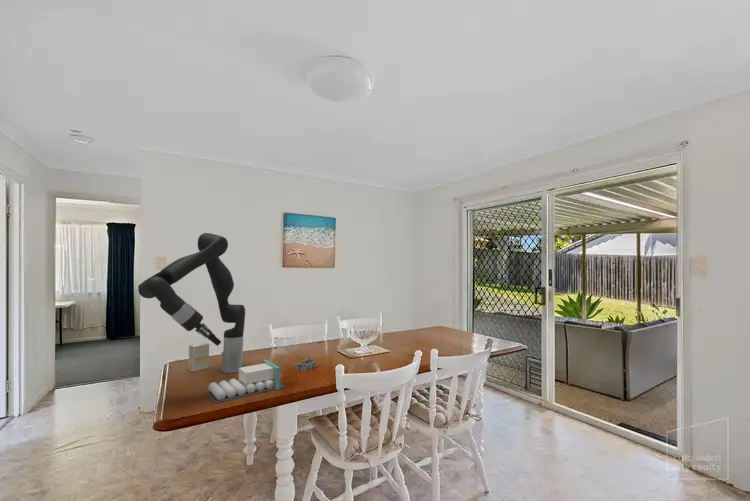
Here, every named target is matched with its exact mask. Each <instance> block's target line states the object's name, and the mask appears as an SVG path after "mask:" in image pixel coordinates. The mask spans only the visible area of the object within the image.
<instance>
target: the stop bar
mask: <svg viewBox="0 0 750 501" xmlns="http://www.w3.org/2000/svg"><path fill="white" fill-rule="evenodd" d="M264 363H266V364H268V365H269V366H271V367H273V376H274V380H275V390H274V391H278V390H280V389H279V383H280V380H281V379H280V374H281V371H280V370H281V368H280V367H279V366H278V365H277V364H275V363H273V362H271V361H270V360H267V359H263V360H262V364H264Z"/></svg>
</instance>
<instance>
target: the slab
mask: <svg viewBox="0 0 750 501" xmlns="http://www.w3.org/2000/svg"><path fill="white" fill-rule="evenodd" d="M239 379H240V380H241V381H243V382H244V383H245V384H248V383H253V382H258V381H263V380H268V379H274V374H273V367H271V366H269V365H268V364H266V363H264V364H263V363H259V364H253V365H248V366H242V367H241V368H239V372H238V380H239Z"/></svg>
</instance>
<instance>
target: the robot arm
mask: <svg viewBox="0 0 750 501" xmlns="http://www.w3.org/2000/svg"><path fill="white" fill-rule="evenodd" d="M228 246H229V242H228V239H227V238H225V237H224V236H222V235H219V234H214V233H211V232H204V233H202V234H200V235H199V236H198V239H197V249H198V251H197V252H195V253H192V254H189V255H186V256H182V257H180V258H178V259H176V260H174V261H172V262H170V264H168V265H166V266H165V267H164V268H162V269H161V270H160V271H159V272H156V273H155V274H153V275H152V276H150V277H149V278H146V279H145V280H144V281H142V282H141V283H140V284H139V286H138V294H139V295H140V297H141V298H144V299H153V298H156V299H157V300H158V301H159V306H160V308H161V309H162V311H164V312H165V313H166V314H168V315H169V316H170V317H171V318H172V320H174V322H176V323H177V324H179V325H180V326H181V327H182V328H184V329H185V330H186V331H187V332H191V331H192V330H194V331H195V332H196V333H197V334H198V335H201V336H202V337H203V338H204V339H207V340H208V341H211V342H212V343H213V344H214V345H215V346H217V347H218V346H219V345H220V344H221V343H222V341H221V340H220V339H219V338H218V337H217V336H216V334H214V333H213V331H212V330H211V329H210V328H209V327H208V325H206V323H204V322H202V321H203V320H204V316H203V314H201V313H200V312H199V311H198V310H197V309H195V308H194V307H193V306H192V305H191V304H189V303H187V302H186V301H185V300H184V299H183V298H182V297H180V296H179V295H178V294H177V293H176V291H175V290H174V288H173V286H172V285H173V284H175V283H177V282H179V281H180V280H182V279H183V278H184V277H186V276H187V275H188V274H190V273H191V272H193V271H194V270H196V269H198V268H199V267H202V266H203V265H205V267H206V269H207V273H208V275H209V278H210V282H211V285H212V289H213V291H214V293H215V297H216V300H217V304H218V309H219V310H218V311H219V314H220V318H221V320H222V321H223V323H226V324H227V323H228V324H234V326H233V327H232V328H229V329H226V330H224V332H223V347H222V348H223V350H222V352H221V353H220V354H221V356H220V357H221V358H220V372H222V373H224V374H225V373H226V374H235V373H239V368H241V367H243V363H244V362H243V358H244V331H245V321H246V307H245V306H244V304H230V302H229V297H230V296H231V294H232V291H233V290H234V286H235V283H234V279H233V275H232V273H231V271H230V270H229V269H228V267H227V266H226V265H225V263H224V262H223V261H222V260H221V259H220V257H221V256H222V255H224V254H225V253H226V251H227V250H228Z"/></svg>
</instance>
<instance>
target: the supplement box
mask: <svg viewBox="0 0 750 501" xmlns="http://www.w3.org/2000/svg"><path fill="white" fill-rule="evenodd" d="M209 363H210V343H209V342H198V343H194V344H189V345H188V370H187V371H188V372H190V373H197V372H201V371H205V370H209V367H210V366H209Z"/></svg>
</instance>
